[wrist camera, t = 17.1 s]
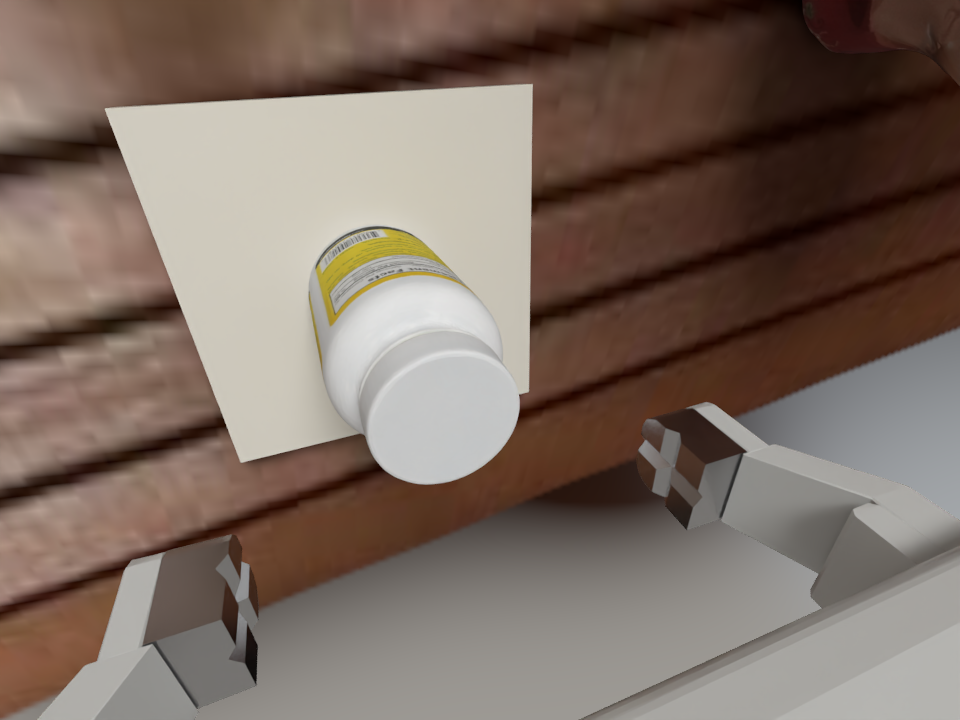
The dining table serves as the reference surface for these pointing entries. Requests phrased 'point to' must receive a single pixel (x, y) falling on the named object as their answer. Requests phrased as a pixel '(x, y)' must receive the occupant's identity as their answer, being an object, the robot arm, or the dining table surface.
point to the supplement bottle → (410, 356)
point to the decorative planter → (889, 27)
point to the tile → (325, 225)
